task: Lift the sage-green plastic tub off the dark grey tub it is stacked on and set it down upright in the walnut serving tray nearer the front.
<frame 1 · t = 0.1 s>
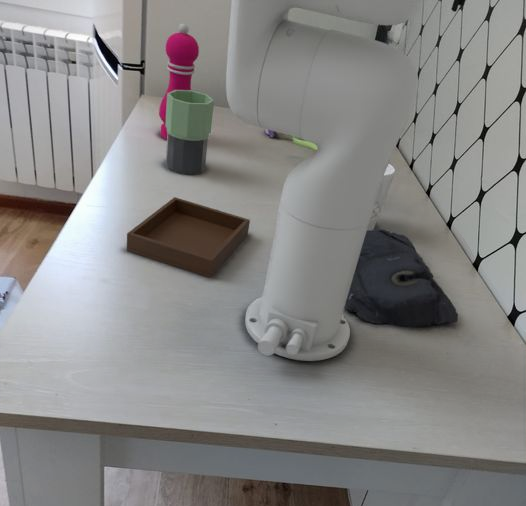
hand: (421, 3, 86), 31 cm above the table, tool pointing down, fingers open, 9 cm apart
dark slate chunk: (384, 282, 83), on the table
dark grey tub: (185, 166, 105), on the table, touching top tub
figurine: (315, 149, 124), on the table
top tub: (187, 133, 101), point 6 cm above the table, touching dark grey tub
pepper mill: (176, 137, 116), on the table
tray: (190, 242, 83), on the table
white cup: (353, 224, 97), on the table
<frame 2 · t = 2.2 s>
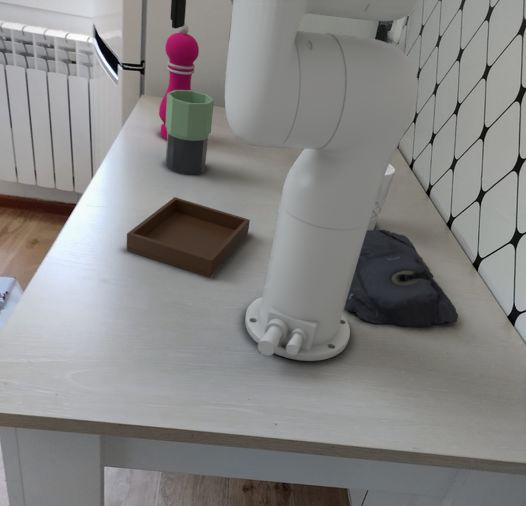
hand: (206, 34, 92), 22 cm above the table, tool pointing down, fingers open, 9 cm apart
nothing on the table moved.
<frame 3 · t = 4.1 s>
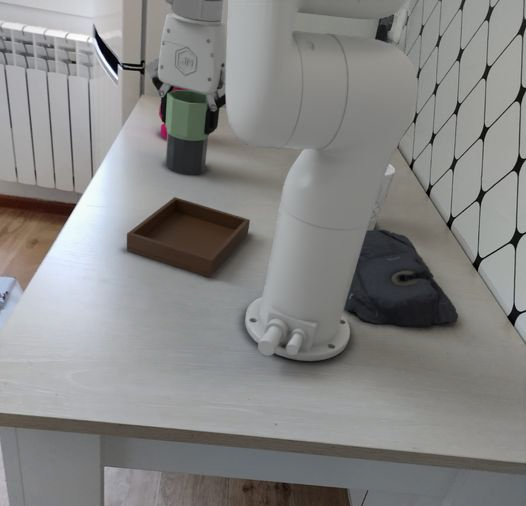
hand: (188, 125, 100), 7 cm above the table, tool pointing down, fingers closed on top tub, 7 cm apart
top tub: (187, 133, 101), point 6 cm above the table, touching dark grey tub, gripper
everything else where it was.
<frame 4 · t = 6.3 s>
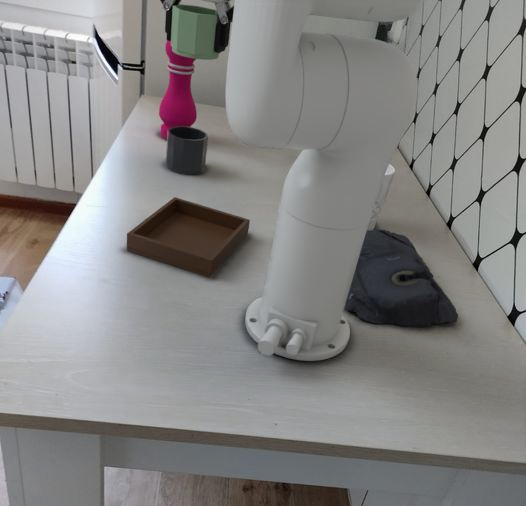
hand: (196, 44, 90), 20 cm above the table, tool pointing down, fingers closed on top tub, 7 cm apart
dark grey tub: (185, 166, 105), on the table
top tub: (195, 53, 91), point 19 cm above the table, touching gripper
everything else where it was.
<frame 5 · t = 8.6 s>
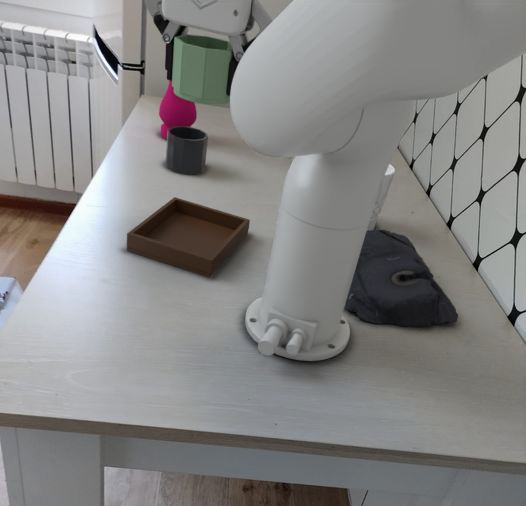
hand: (203, 85, 72), 21 cm above the table, tool pointing down, fingers closed on top tub, 7 cm apart
top tub: (202, 95, 73), point 19 cm above the table, touching gripper
everything else where it was.
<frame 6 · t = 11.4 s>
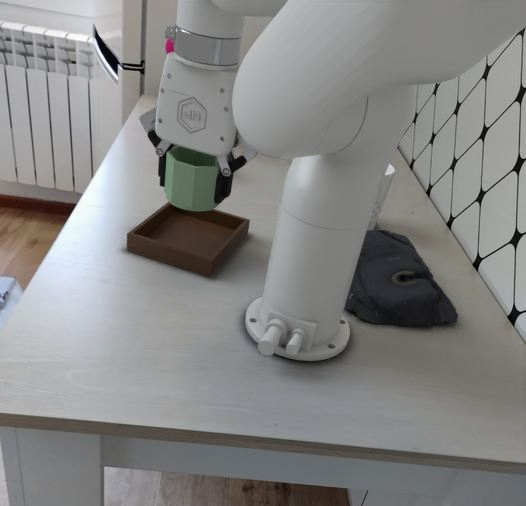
hand: (193, 190, 79), 8 cm above the table, tool pointing down, fingers closed on top tub, 7 cm apart
top tub: (192, 199, 79), point 6 cm above the table, touching gripper
everything else where it was.
when the fingers open (2 cm above the table, at t = 13.4 s): top tub stays where it is, resting on tray.
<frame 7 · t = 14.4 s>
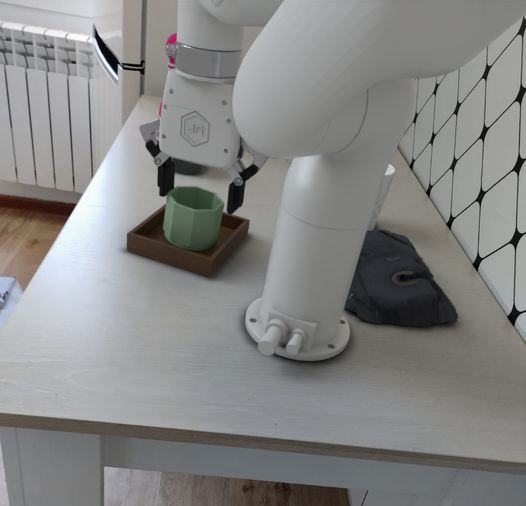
hand: (199, 202, 78), 7 cm above the table, tool pointing down, fingers open, 9 cm apart
top tub: (190, 237, 83), point 1 cm above the table, touching tray
everything else where it was.
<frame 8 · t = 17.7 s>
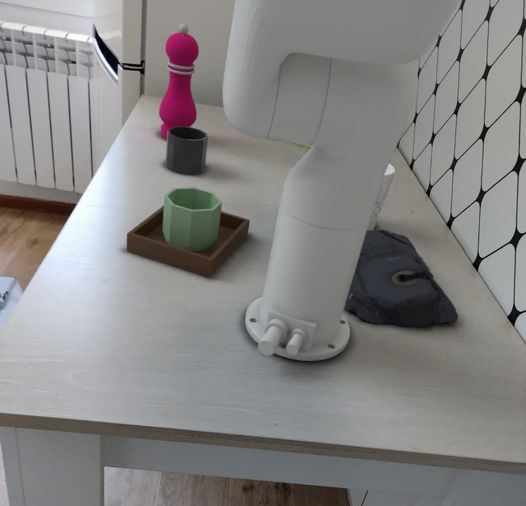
hand: (310, 19, 77), 28 cm above the table, tool pointing down, fingers open, 9 cm apart
nothing on the table moved.
at the end: top tub inside the target area in the tray (0.2 cm from its centre), point 0.6 cm above the tray's base; top tub tilted 0°; dark grey tub touching table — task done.
